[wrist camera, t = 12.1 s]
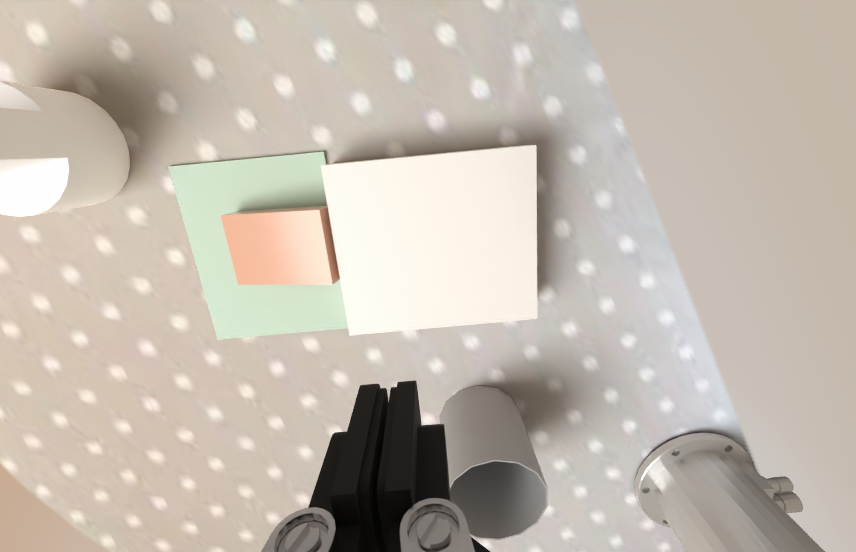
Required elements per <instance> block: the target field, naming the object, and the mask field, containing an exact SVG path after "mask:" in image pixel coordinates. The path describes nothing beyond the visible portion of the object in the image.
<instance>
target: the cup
mask: <svg viewBox="0 0 856 552" xmlns="http://www.w3.org/2000/svg"><path fill="white" fill-rule="evenodd" d="M440 424H444V427H445V437H446V448H447V459H448V471H449V485H450V499H451V502H452V503H454V504H456V505H457V506H458V507H459V508H460V509H461V510H462V512H463V514H464V516H465V518H466V521H467V525H468V529H469V532H470V535H471V536H473V537H475V538H478V539H490V540H502V539H505V538H509V537H513V536H517V535H521V534H522V533H524V532H525V531H526V530H528V529H529V528H531V527H532V526H534V525H535V524H537V523H538V521H539V520H540V518H541V516H542V515H543V513H544V511H545V510H546V508H547V506H548V494H547V486H546V483H545V480H544V477H543V475H542V472H541V469H540V466H539V464H538V461H537V458H536V455H535V453H534V450H533V447H532V444H531V442H530V439H529V436H528V433H527V431H526V428H525V425H524V423H523V420H522V417H521V414H520V412H519V409H518V407H517V406H516V404H515V403H514V401H513V400H512V398H511V396H510V395H508V394H506V393H504V392H503V391H501V390H499V389H497V388H496V387H487V386H474V387H470V388H467V389H463V390H460V391H458V392H457V393H456V394H455V395H454V396H452V397H451V398H450V399H449V400H447V401H446V403H445V405H444V407H443V410H442V412H441V414H440Z"/></svg>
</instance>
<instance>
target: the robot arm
mask: <svg viewBox="0 0 856 552" xmlns="http://www.w3.org/2000/svg"><path fill="white" fill-rule="evenodd" d="M634 489H635V496H636V499H637V501H638V503H639V505H640V506H641V508H642V510H643V511H644V512H645V514H646V515H647V516H648V517H649V518H650V519H652V520H653V521H655V522H656V523H659V524H661V525H663V526H667V527H671V528H672V530H673V531H674V533H675V535H676V536H677V538H678V539H679V541H680V542H681V544H682V545H683V547H684V548H685V550H686V551H687V552H825V551H824V550H823V549H822V548H821V547H819V545H818V544H817V543H815V541H813V539H812V538H810V536H809V535H808V534H807V533H806V532H805V531H804V530H803V529H802V528H801V527H800V526H799V525H798V524H797V523H796V522H795V521H794V520H793V519H792V518H791V517H790V516H789V515H788V514H787V513H792V512H801V511H802V509H803V507H802V502H801V500H800V499H799V497H798V496H797V495H796V494H794V493H793V492H790V491H792V490H793V484H792V482H791V481H790V480H789V478H787V477H774V478H769V479H766V478H764V477H762V476H760V475H759V474H758V473H757V472H756V471H755V467H754V463H753V461H752V459H751V457H750V455H749V454H748V453H747V452H746V451H745V450H744V449H743V448H742V447H741V446H740V445H739V444H738V443H736V442H735V441H734V440H732V439H730V438H728V437H726V436H723V435H719V434H715V433H694V434H689V435H684V436H680V437H678V438H675V439H673V440H670V441H668V442H667V443H665V444H663V445H661V446H660V447H658V448H657V449H656V450H655V451H653V452H652V453H651V454H650V455H649V456H648V457H647V458H646V459H645V461H644V462H643V464H642V465H641V467H640V468H639V470H638V473H637V475H636V478H635V485H634ZM261 552H490V551H489V550H487V549H486V548H485V547H483V546H482V545H481V544H480V543H478V542H477V541H476V540H474V539H473V538H472V537H471V536H470V532H469V529H468V525H467V521H466V518H465V516H464V514H463V512H462V510H461V509H460V508H459V507H458V506H457V505H456V504H454V503H452V502H451V499H450V485H449V471H448V459H447V448H446V437H445V427H444V424H436V425H423V426H422V425H421V417H420V408H419V400H418V391H417V383H416V381H405V382H398V384H397V387H392V388H391V391H390V398H389V402H388V395H387V390H386V388H380V385H379V384H369V385H361V386H360V388H359V391H358V395H357V398H356V402H355V405H354V409H353V413H352V416H351V420H350V423H349V427H348V431H347V432H337V433H334V434H333V435H332V438H331V440H330V443H329V446H328V450H327V453H326V456H325V459H324V462H323V465H322V468H321V471H320V474H319V477H318V480H317V483H316V486H315V489H314V492H313V495H312V498H311V501H310V505H309V508H304V509H302V510H299V511H296V512H294V513H292V514H291V515H289V516H287V517H286V518H285V519H284V520H282V521H281V522H280V523H279V524H278V525H277V526H276V528H275V529H274V531H273V532H272V533H271V535H270V537H269V539H268V540H267V542H266V544H265V546H264V548H263V549H262V551H261Z"/></svg>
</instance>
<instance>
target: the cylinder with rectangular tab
mask: <svg viewBox="0 0 856 552" xmlns="http://www.w3.org/2000/svg"><path fill="white" fill-rule="evenodd" d="M129 169H130V157H129V150H128V147H127V144H126V141H125V138H124V135H123V134H122V132H121V130H120V129H119V127H118V125H117V124H116V122H115V121H114V120H113V119H112V118H111V117H110V115H109V114H108V113H107V112H106V111H105V110H104V109H103V108H101V107H100V106H99V105H97V104H96V103H94V102H93V101H92V100H90V99H88V98H86V97H83V96H81V95H79V94H76V93H73V92H67V91H61V90H55V89H48V88H42V87H36V86H29V85H23V84H16V83H10V82H4V81H0V214H4V215H11V216H18V217H21V216H30V215H38V214H43V213H49V212H55V211H60V210H66V209H72V208H78V207H83V206H89V205H95V204H100V203H103V202H105V201H107V200H110V199H112V198H113V197H114V196H115V195H117V194H118V193H119V192H120V191H121V190H122V188H123V186H124V184H125V183H126V181H127V179H128V174H129Z"/></svg>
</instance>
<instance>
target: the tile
mask: <svg viewBox="0 0 856 552" xmlns="http://www.w3.org/2000/svg"><path fill="white" fill-rule="evenodd" d="M220 216H221V220H222V223H223V227H224V231H225V235H226V239H227V243H228V247H229V251H230V255H231V259H232V262H233V266H234V270H235V274H236V278H237V282H238V285H333V284H334V283H336V282H337V281H338V280H340V276H339V271H338V265H337V259H336V253H335V247H334V241H333V235H332V230H331V224H330V218H329V212H328V206H316V207H299V208H283V209H266V210H249V211H236V212H232V213H228V214H224V215H220Z"/></svg>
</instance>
